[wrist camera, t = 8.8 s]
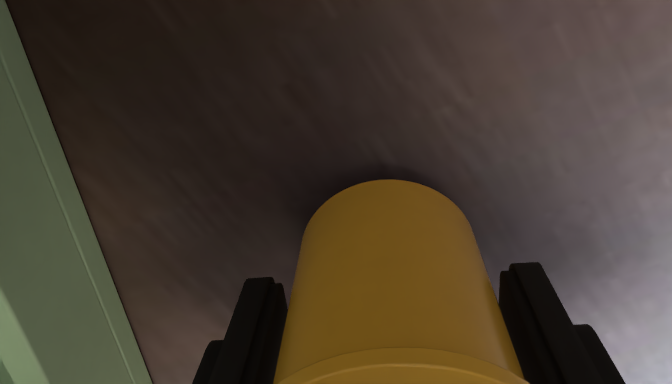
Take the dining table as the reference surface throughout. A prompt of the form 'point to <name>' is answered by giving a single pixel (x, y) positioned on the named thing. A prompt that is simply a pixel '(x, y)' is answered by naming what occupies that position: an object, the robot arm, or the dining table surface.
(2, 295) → the green tray box
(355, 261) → the cup
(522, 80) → the dining table surface
